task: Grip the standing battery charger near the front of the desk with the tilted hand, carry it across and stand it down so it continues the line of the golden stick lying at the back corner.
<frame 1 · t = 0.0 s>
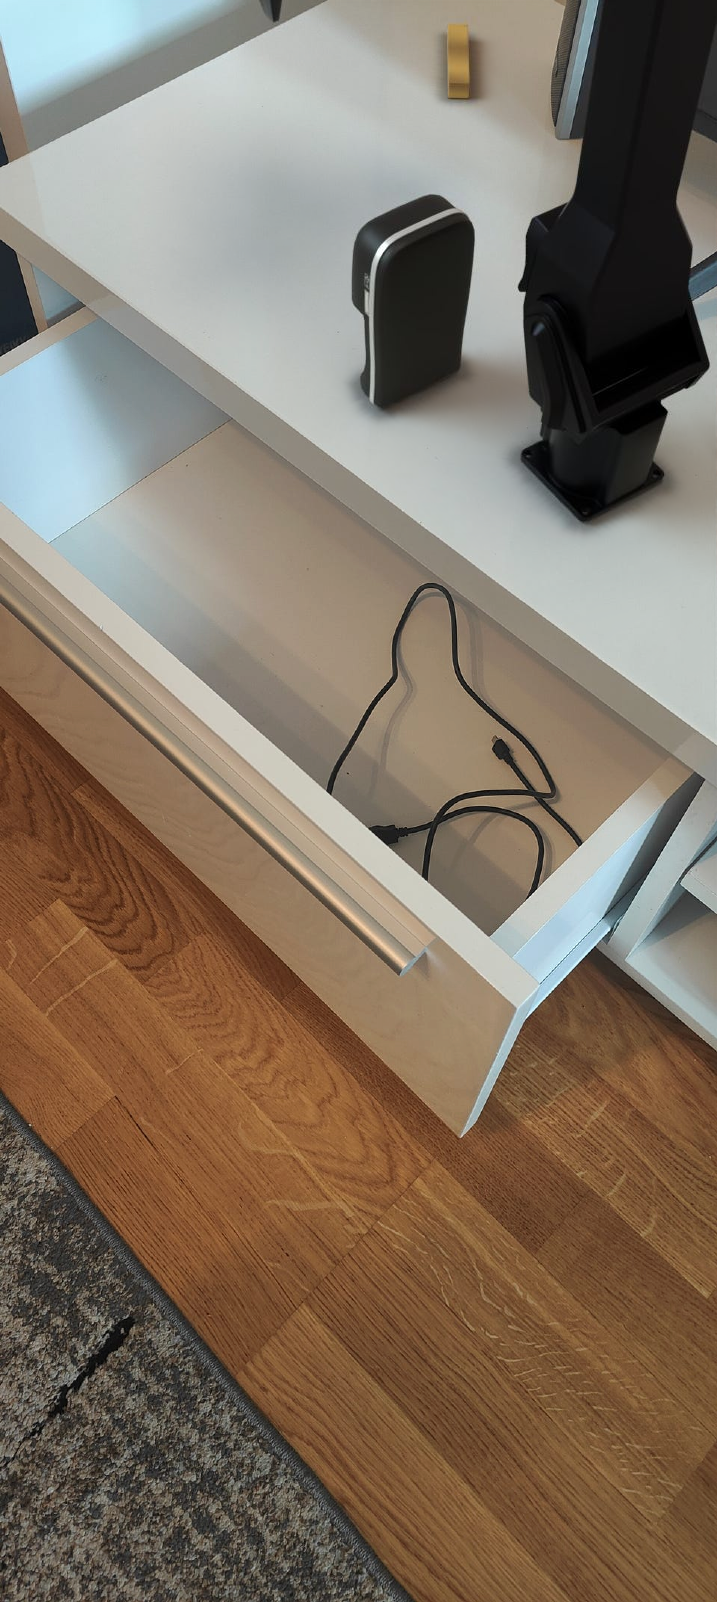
battery charger: (404, 378, 73), on the table
fry stick: (457, 68, 89), on the table
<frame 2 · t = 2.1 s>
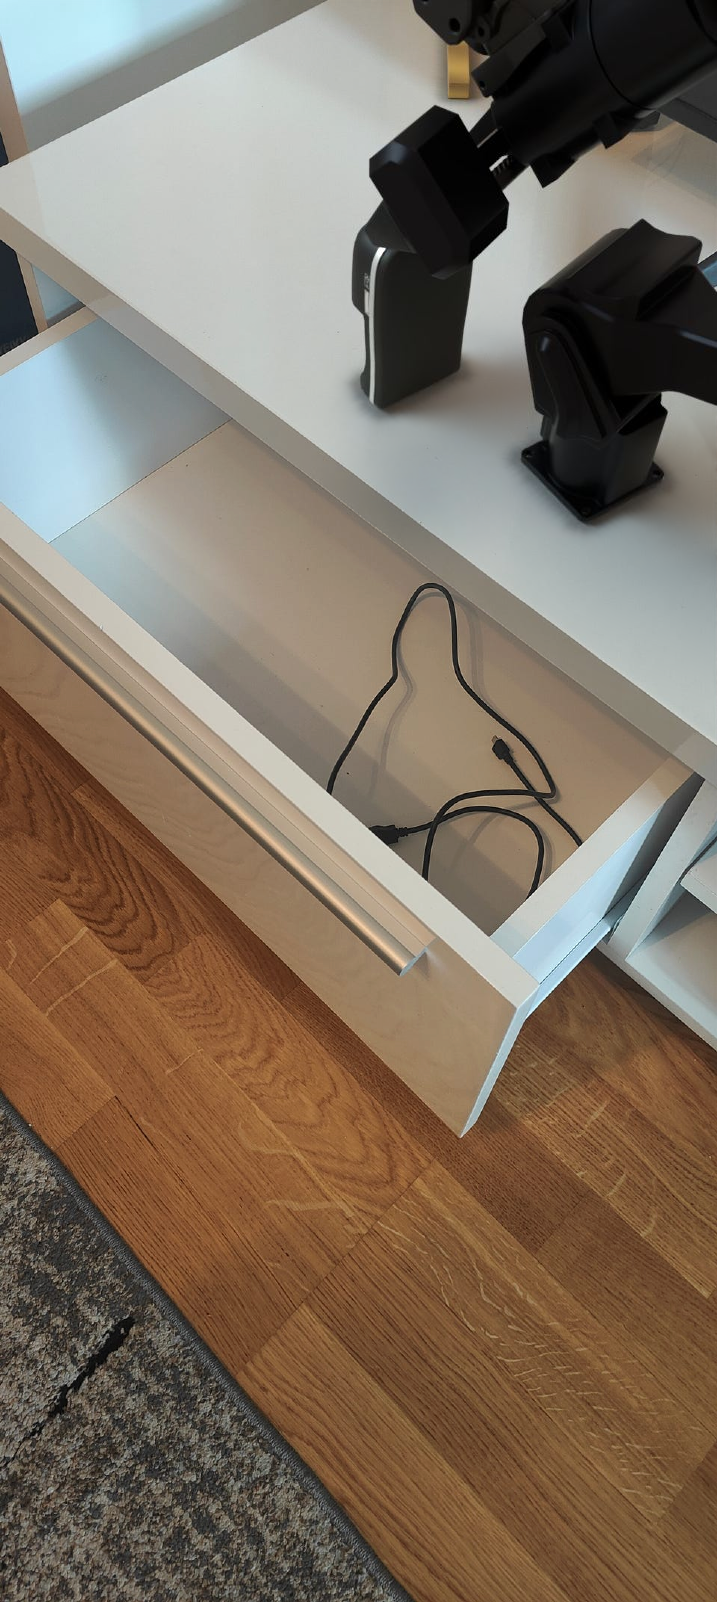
hand: (418, 192, 62), 13 cm above the table, tool tilted 45°, fingers open, 9 cm apart
nothing on the table moved.
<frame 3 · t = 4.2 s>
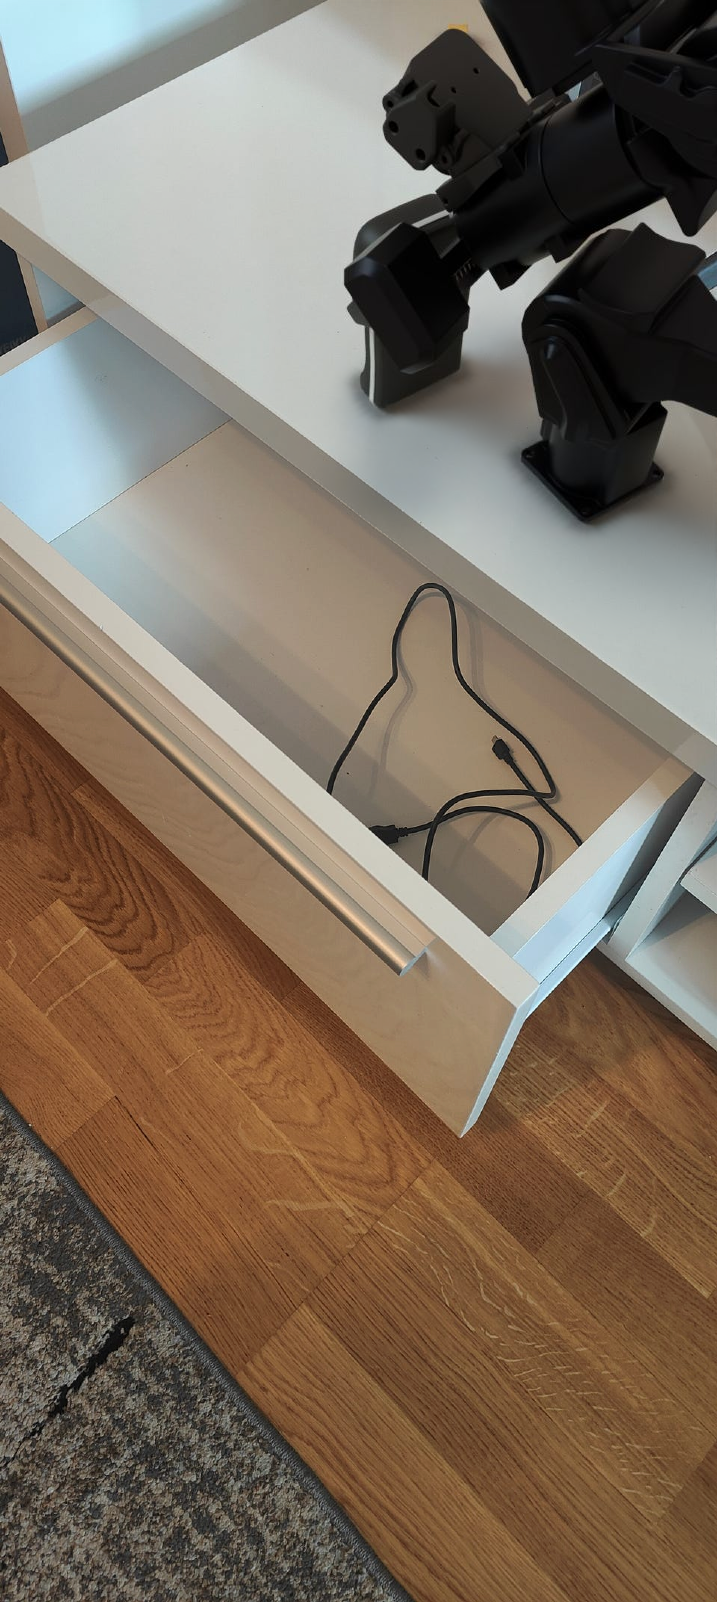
hand: (389, 279, 68), 7 cm above the table, tool tilted 45°, fingers closed on battery charger, 7 cm apart
battery charger: (403, 378, 73), on the table, touching gripper
everything else where it was.
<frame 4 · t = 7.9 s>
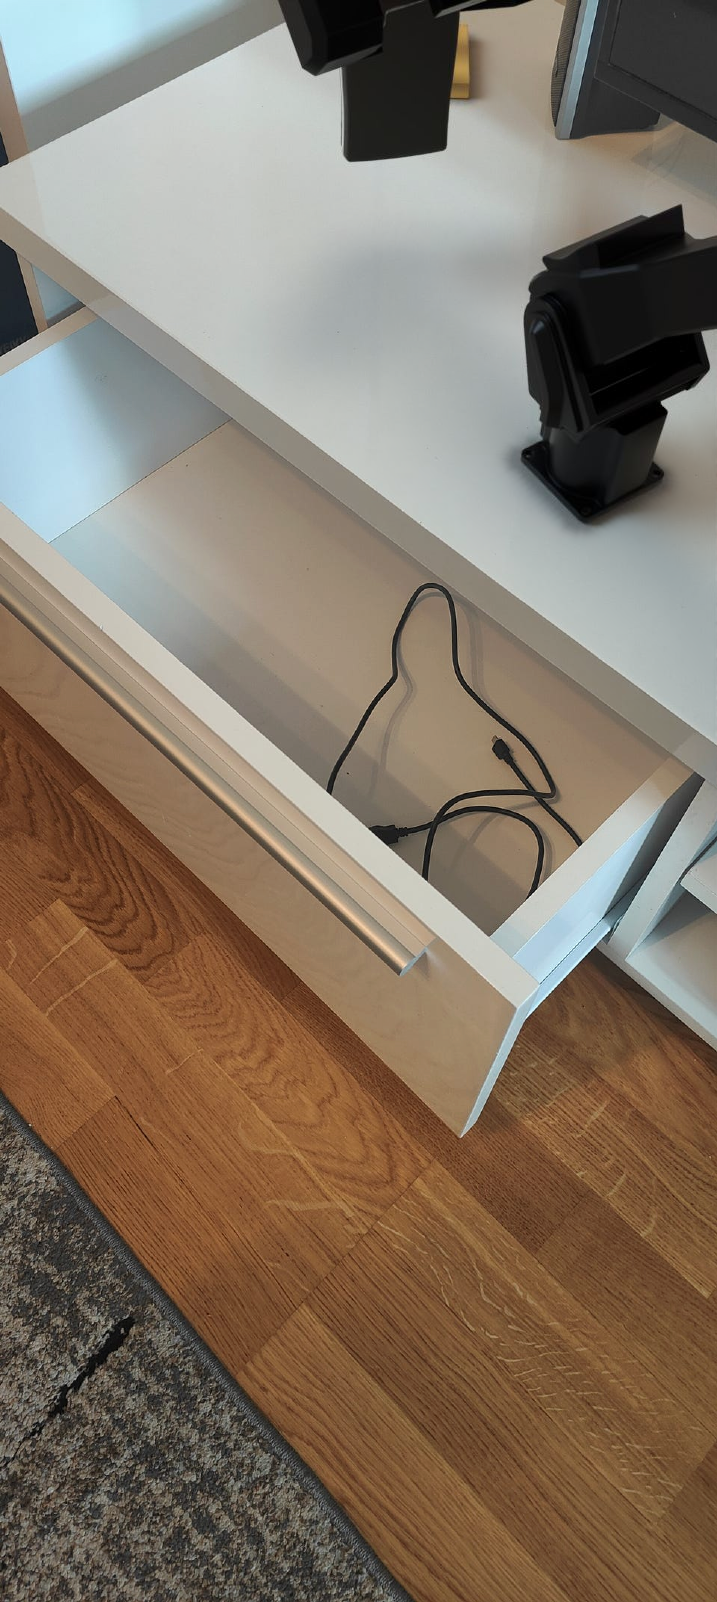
hand: (380, 21, 66), 15 cm above the table, tool tilted 45°, fingers closed on battery charger, 7 cm apart
battery charger: (390, 146, 72), point 8 cm above the table, touching gripper
everything else where it was.
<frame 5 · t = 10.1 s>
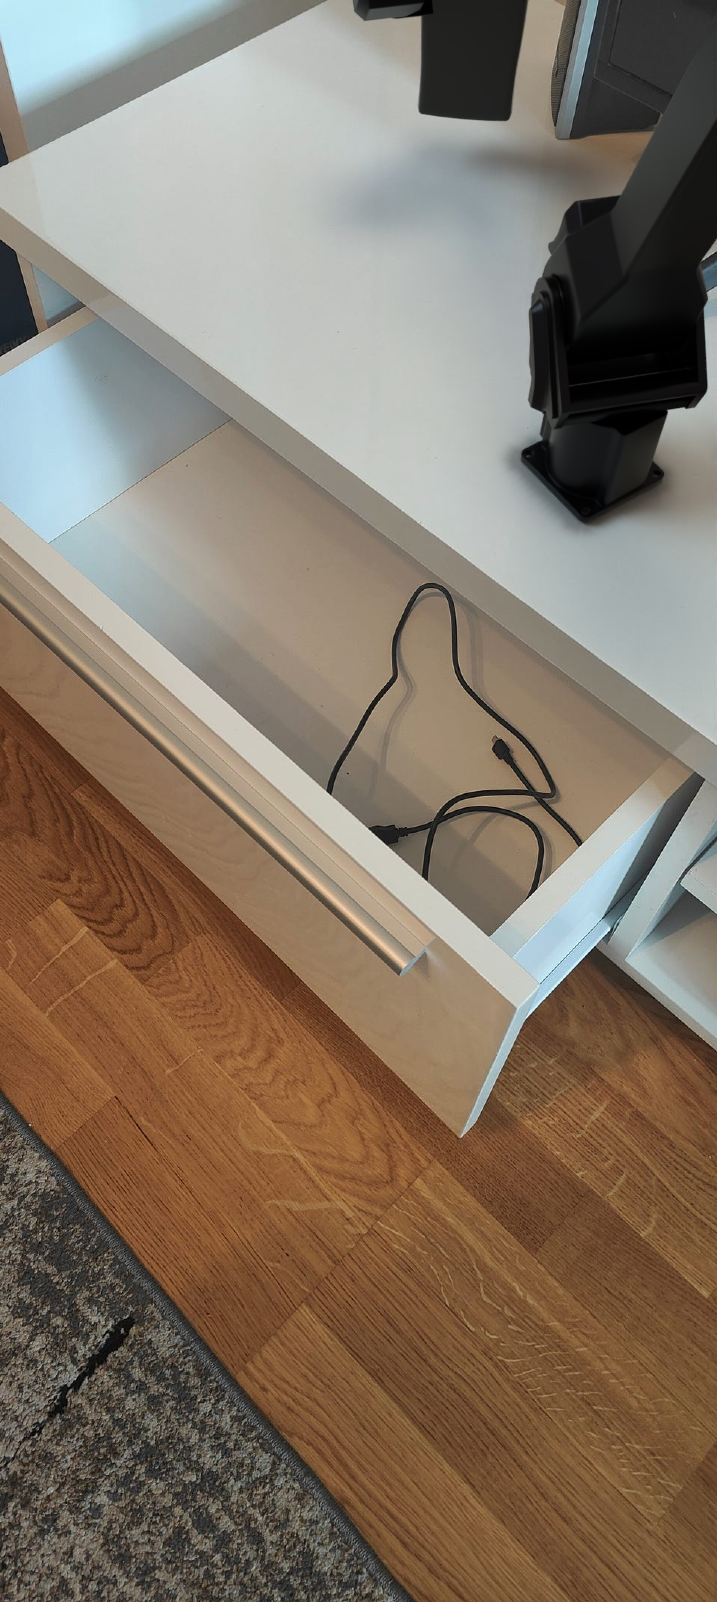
battery charger: (465, 109, 81), point 3 cm above the table, touching gripper
everything else where it was.
when the fingers open (7 cm above the table, at t = 11.7 s): battery charger stays where it is, on the table.
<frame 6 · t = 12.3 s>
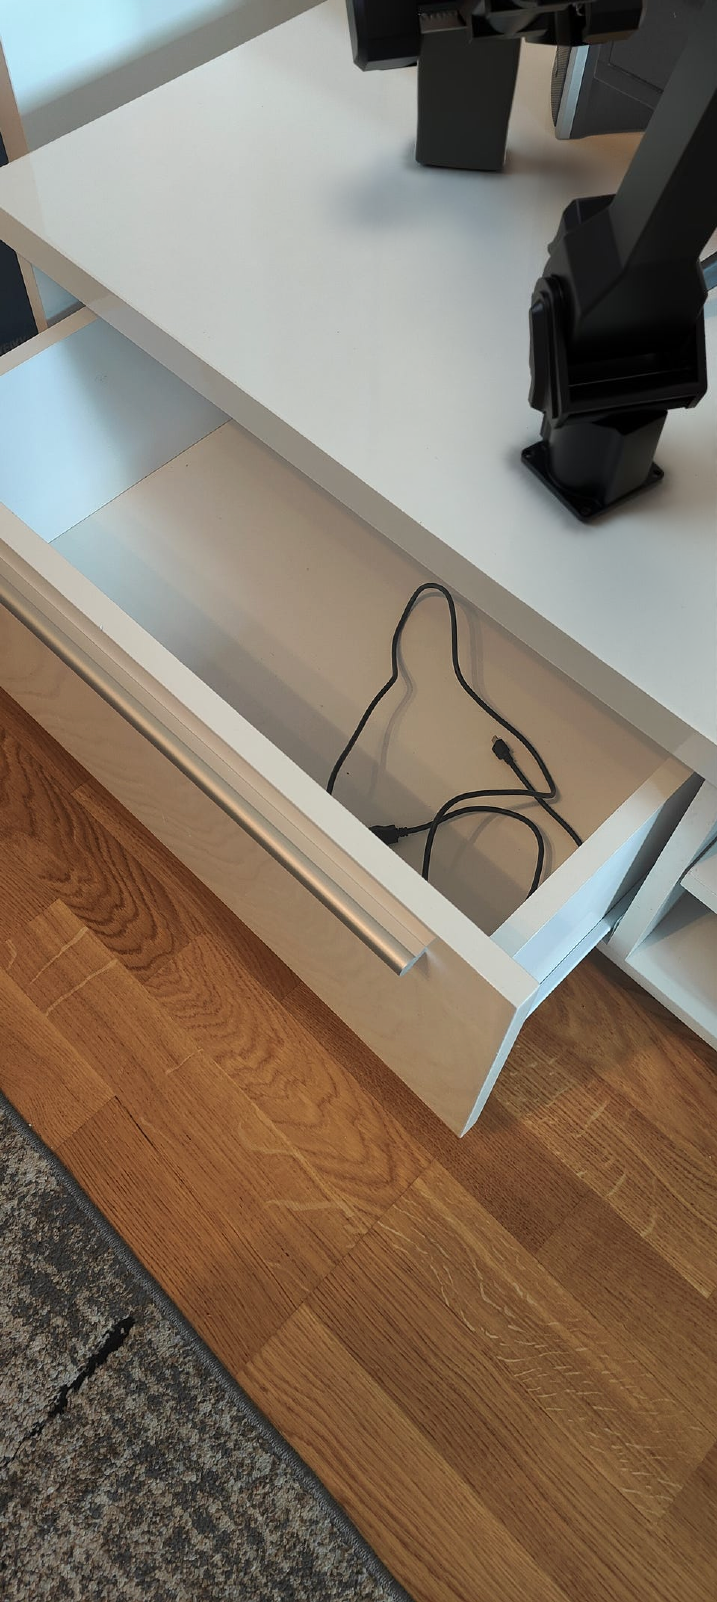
hand: (463, 40, 78), 7 cm above the table, tool tilted 45°, fingers open, 9 cm apart
battery charger: (460, 157, 84), on the table
everything else where it was.
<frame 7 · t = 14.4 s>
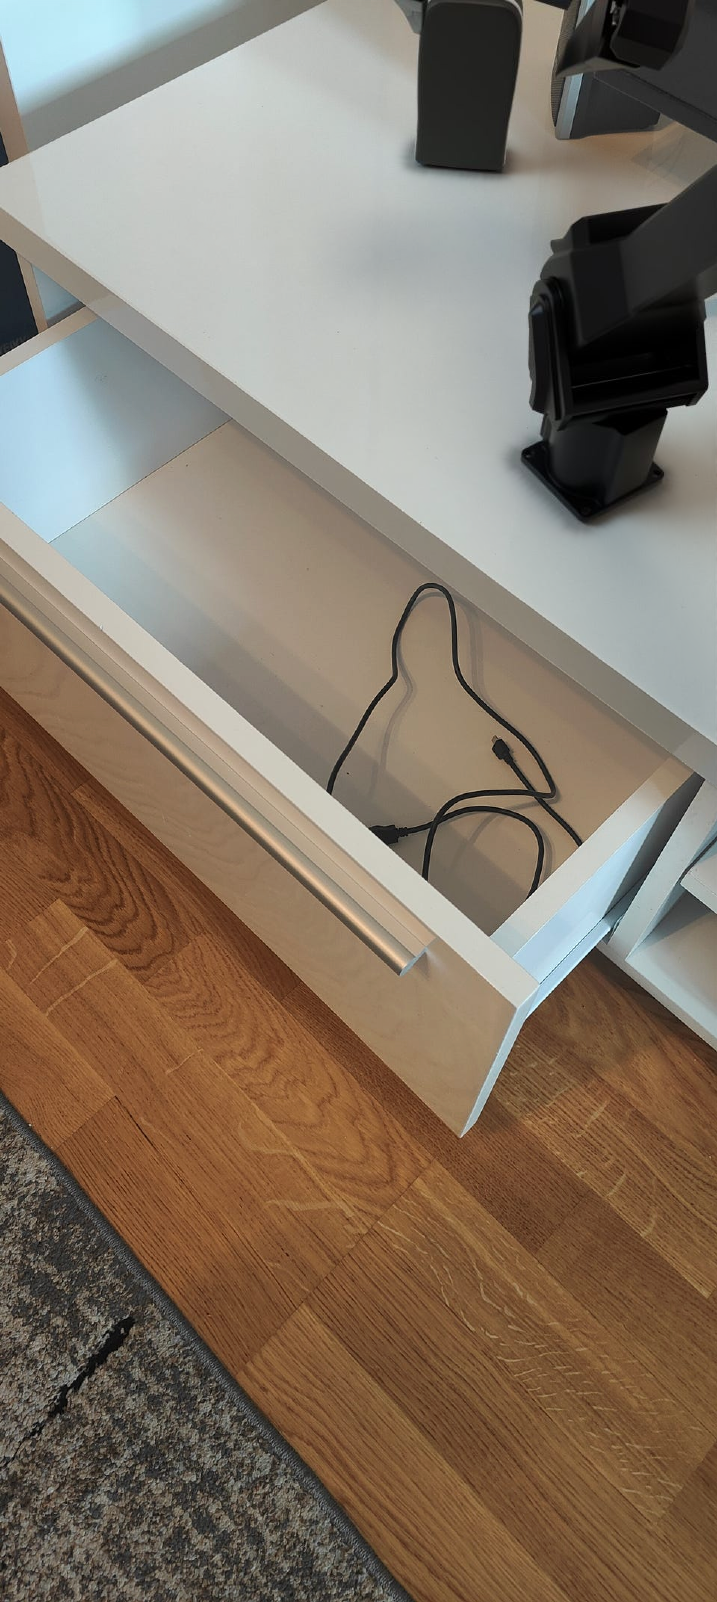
hand: (489, 47, 70), 12 cm above the table, tool tilted 35°, fingers open, 9 cm apart
nothing on the table moved.
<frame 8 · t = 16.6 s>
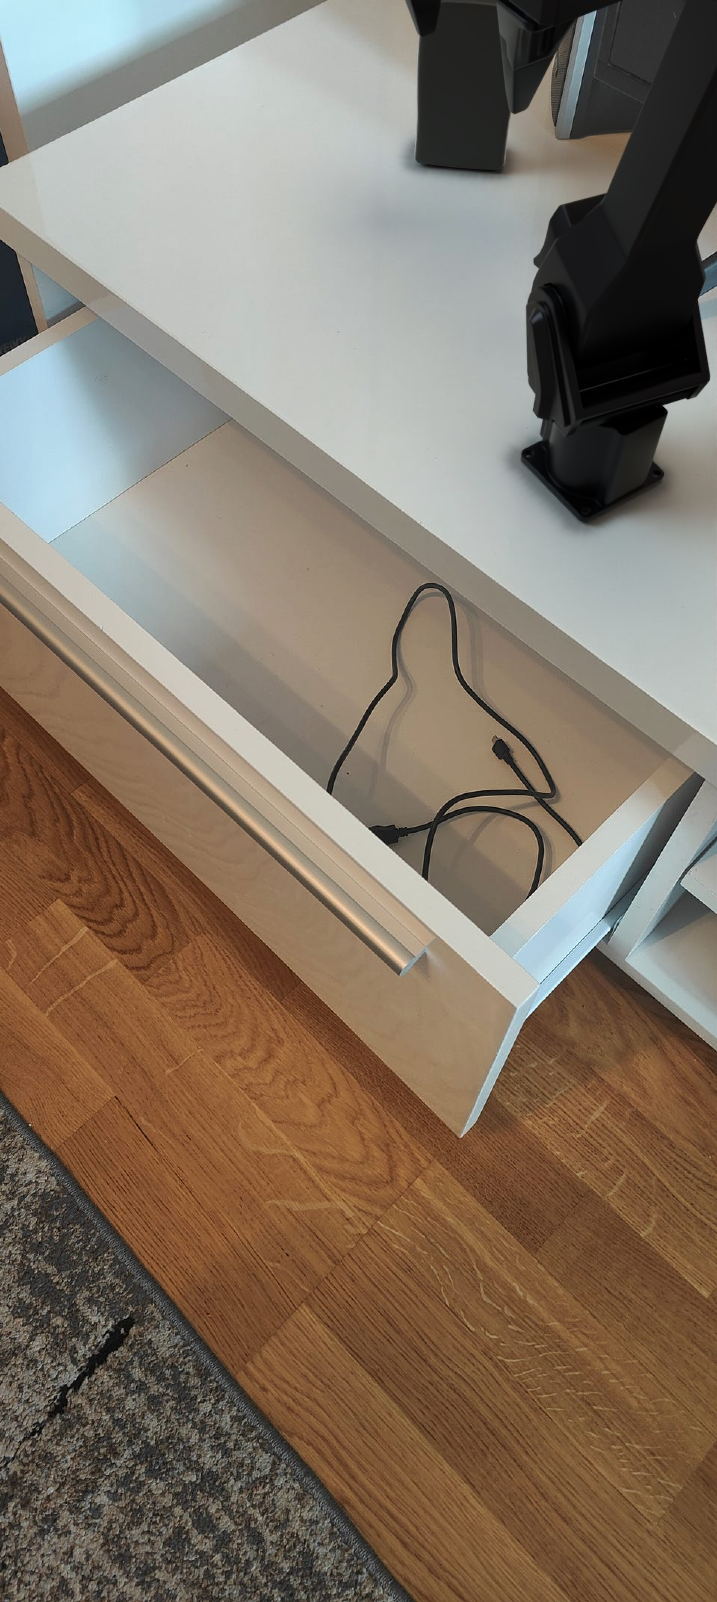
hand: (471, 71, 67), 13 cm above the table, tool pointing down, fingers open, 9 cm apart
nothing on the table moved.
at the end: battery charger 0.1 cm from the target spot on the table beside the fry stick, on the table; battery charger tilted 0°; fry stick moved 0.0 cm from its start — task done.
